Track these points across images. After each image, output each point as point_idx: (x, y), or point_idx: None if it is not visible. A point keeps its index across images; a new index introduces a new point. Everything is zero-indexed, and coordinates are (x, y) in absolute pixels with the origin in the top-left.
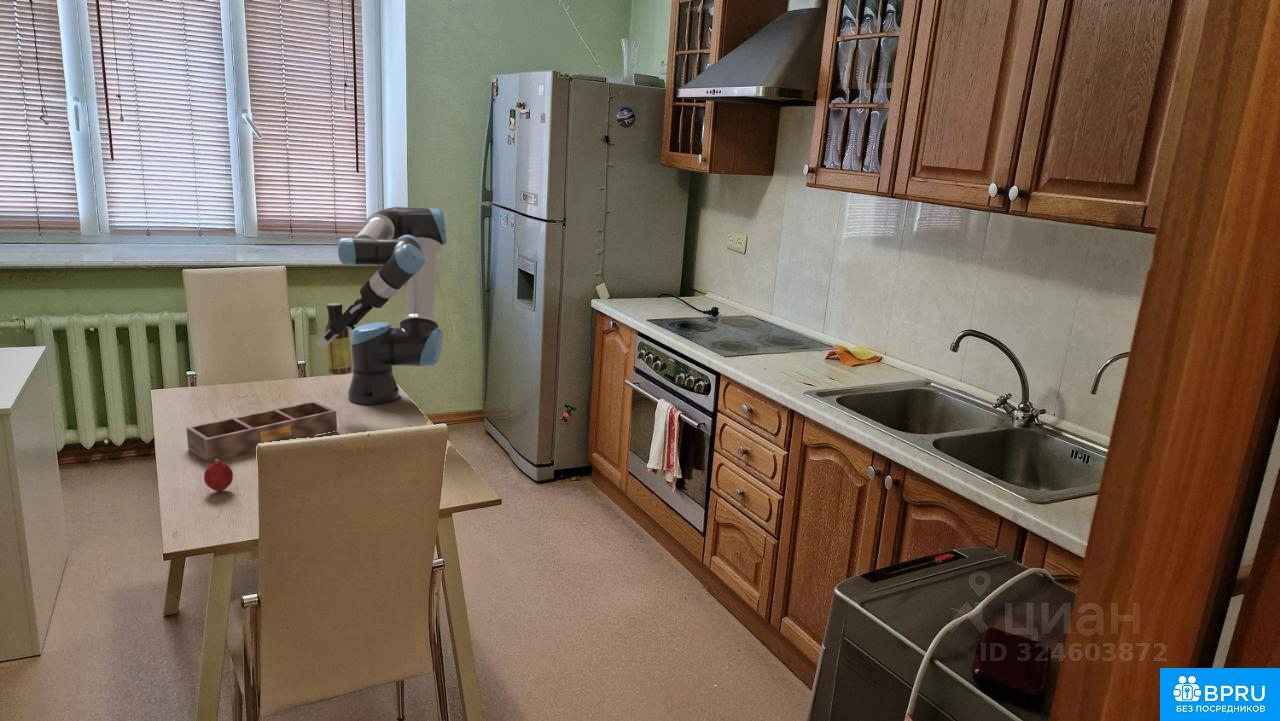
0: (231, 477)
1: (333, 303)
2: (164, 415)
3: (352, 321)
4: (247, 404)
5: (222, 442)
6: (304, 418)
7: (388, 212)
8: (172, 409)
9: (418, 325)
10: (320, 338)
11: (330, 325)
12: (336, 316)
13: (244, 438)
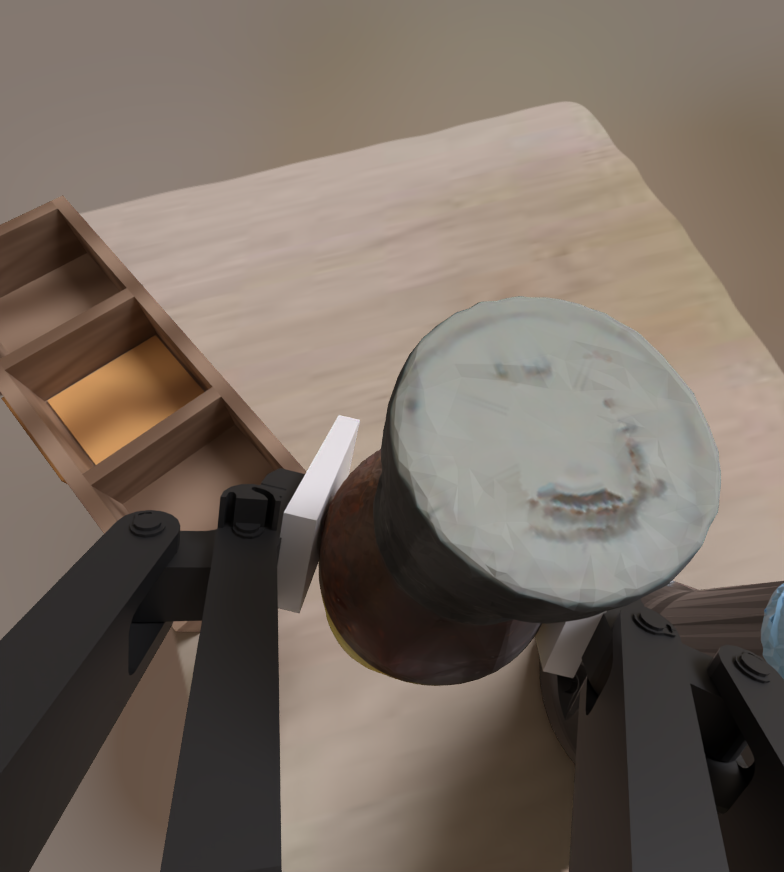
0: None
1: (625, 395)
2: (386, 143)
3: (587, 743)
4: (494, 287)
5: None
6: (93, 518)
7: None
8: (434, 147)
9: None
10: (328, 437)
11: (242, 508)
12: (392, 543)
13: None
